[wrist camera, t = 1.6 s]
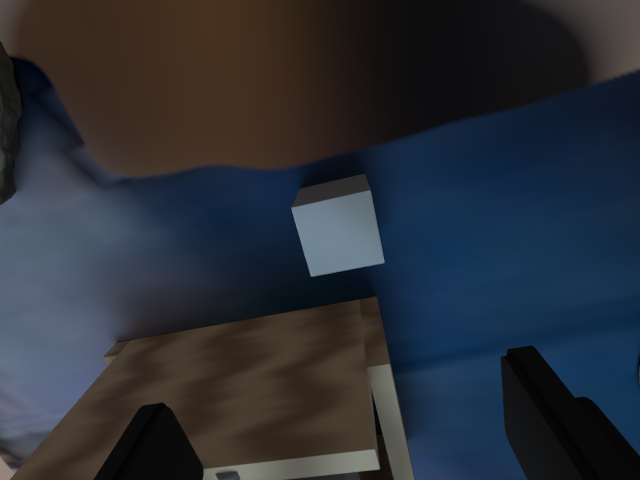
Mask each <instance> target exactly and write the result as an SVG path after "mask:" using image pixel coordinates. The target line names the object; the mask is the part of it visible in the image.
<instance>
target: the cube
mask: <svg viewBox="0 0 640 480" xmlns="http://www.w3.org/2000/svg"><path fill="white" fill-rule="evenodd" d="M291 209H292V213H293V216H294V219H295V223H296V226H297V230H298V233H299V237H300V240H301V244H302V247H303V251H304V254H305V258H306V261H307V265H308V268H309V272H310V275H311V277H314V276H319V275H324V274H329V273H334V272H340V271H345V270H350V269H355V268H360V267H366V266H371V265H376V264H381V263H385V262H384V257H383V252H382V247H381V242H380V236H379V231H378V226H377V221H376V216H375V211H374V205H373V200H372V195H371V190H370V187H369V184H368V181H367V178H366V175H365V174H361V175H357V176H353V177H348V178H344V179H340V180H335V181H331V182H327V183H322V184H318V185H314V186H309V187H305V188H301V189H299V191H298V194H297V196H296V198H295V200H294V203H293V205H292V207H291Z"/></svg>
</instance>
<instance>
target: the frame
mask: <svg viewBox="0 0 640 480" xmlns="http://www.w3.org/2000/svg"><path fill="white" fill-rule="evenodd" d="M103 359H104V361H105V362H106V364H107V366H108V367H107V368H106V369H105V370H104V371H103V373H102V374H101V375H100V376H99V377H98V378H97V379H96V381H95V382H94V383H93V384H92V385H91V386H90V388H89V389H88V390H87V391H86V392H85V393H84V395H83V396H82V397H81V398H80V399H79V400H78V401H77V403H76V404H75V405H74V406H73V407H72V408H71V410H70V411H69V412H68V413H67V414H66V415H65V416H64V418H63V419H62V420H61V421H60V422H59V423H58V425H57V426H56V427H55V428H54V429H53V430H52V432H51V433H50V434H49V435H48V436H47V437H46V438H45V440H44V441H43V442H42V443H41V444H40V445H39V447H38V448H37V449H36V450H35V451H34V452H33V454H32V455H31V456H30V457H29V458H28V459H27V460H26V462H25V463H24V464H23V465H22V466H21V467H20V469H19V470H18V471H17V472H16V473H15V474H14V476H13V477H12V478H11V479H10V480H93V479H94V478H95V476H96V475H97V473H98V471H99V470H100V468H101V467H102V465H103V464H104V462H105V461H106V459H107V457H108V456H109V454H110V453H111V451H112V450H113V448H114V446H115V445H116V443H117V442H118V440H119V439H120V437H121V436H122V434H123V432H124V431H125V429H126V428H127V426H128V425H129V423H130V422H131V420H132V418H133V417H134V415H135V414H136V412H137V411H138V409H139V408H140V407H141V406H143V405H148V404H155V403H162V402H163V403H165V404H166V406H167V407H170V408H171V409H172V411H173V413H174V414H175V416H176V418H177V420H178V422H179V423H180V425H181V427H182V429H183V431H184V432H185V434H186V436H187V438H188V440H189V442H190V443H191V445H192V447H193V449H194V451H195V452H196V454H197V456H198V458H199V460H200V461H201V463H202V465H203V469H204V476H203V480H286V479H295V478H305V477H314V476H323V475H332V474H341V473H351V472H358V473H359V477H360V480H415V478H414V473H413V468H412V463H411V458H410V453H409V448H408V443H407V438H406V433H405V428H404V424H403V419H402V414H401V409H400V405H399V400H398V395H397V390H396V386H395V381H394V376H393V371H392V367H391V362H390V357H389V352H388V348H387V343H386V338H385V333H384V328H383V324H382V319H381V314H380V309H379V305H378V300H377V296H376V297H370V298H365V299H359V300H353V301H348V302H342V303H337V304H331V305H325V306H320V307H314V308H309V309H303V310H297V311H292V312H286V313H281V314H275V315H269V316H264V317H258V318H253V319H247V320H242V321H236V322H230V323H225V324H219V325H214V326H208V327H202V328H197V329H191V330H186V331H180V332H174V333H169V334H163V335H158V336H152V337H146V338H141V339H135V340H130V341H124V342H119V343H116V344H115V345H114V346H113V347H112V348H111V349H110V350H109V351H108V352H107V354H106V355H105V356H104V357H103ZM371 388H372V392H373V397H374V401H375V405H376V409H377V413H378V417H379V421H380V425H381V429H382V433H383V434H380V435H376V428H375V419H374V410H373V401H372V392H371Z"/></svg>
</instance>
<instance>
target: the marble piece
mask: <svg viewBox="0 0 640 480" xmlns="http://www.w3.org/2000/svg"><path fill="white" fill-rule="evenodd" d="M22 112H23V111H22V106H21V99H20V92H19V90H18V89H17V86H16V82H15V77H14V66H13V62H12V60H11V59H10V57H9V56H8V54H7V53H6V51H5V49H4V47H3V45H2V43H1V42H0V205H2V204H3V203H4V202H5V201H7V200H8V199H10V198H11V197H12V196H13V195H14V194H15V191H16V189H15V187H14V184H13V170H14V158H15V156H16V155H17V153H18V152H19V150H20V141H19V136H18V131H17V122H18V119H19V118H20V117H21V116H22Z"/></svg>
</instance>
